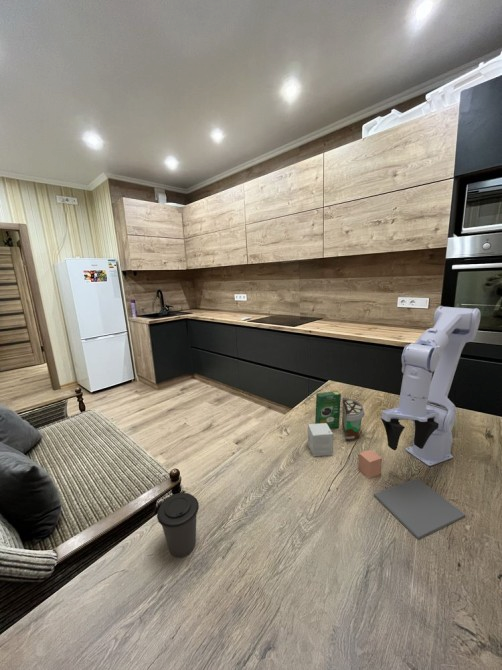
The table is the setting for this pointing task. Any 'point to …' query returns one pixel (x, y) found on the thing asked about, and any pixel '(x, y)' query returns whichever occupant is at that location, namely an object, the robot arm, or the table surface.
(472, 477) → the table surface
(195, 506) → the coffee cup
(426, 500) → the mat
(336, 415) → the coffee box
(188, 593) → the table surface
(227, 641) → the table surface
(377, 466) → the block
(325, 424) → the product box
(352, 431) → the food container
